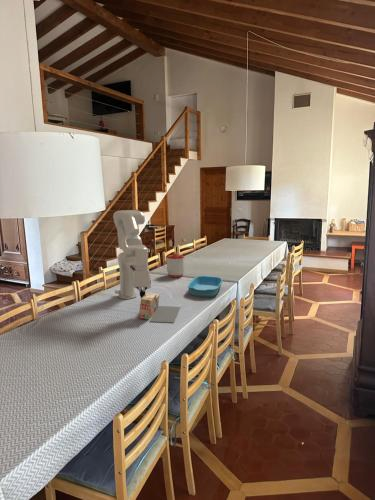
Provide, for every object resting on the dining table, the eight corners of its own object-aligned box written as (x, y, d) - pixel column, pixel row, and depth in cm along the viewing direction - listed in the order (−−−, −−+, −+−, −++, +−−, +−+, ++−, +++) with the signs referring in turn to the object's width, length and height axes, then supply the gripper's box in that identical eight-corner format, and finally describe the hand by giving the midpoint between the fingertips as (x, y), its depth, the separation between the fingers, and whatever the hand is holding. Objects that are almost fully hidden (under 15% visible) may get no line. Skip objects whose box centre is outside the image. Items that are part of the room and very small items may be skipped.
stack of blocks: (148, 305, 232) (150, 287, 229) (158, 307, 231) (160, 289, 228) (138, 318, 211) (140, 298, 208) (148, 320, 210) (151, 300, 207)
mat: (149, 321, 207) (149, 321, 207) (158, 306, 233) (158, 305, 233) (173, 323, 206) (173, 322, 206) (180, 307, 231) (180, 306, 231)
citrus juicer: (166, 273, 317) (166, 251, 313) (185, 274, 314) (185, 251, 311) (162, 278, 302) (162, 254, 298) (183, 278, 299) (183, 255, 295)
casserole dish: (216, 300, 246) (216, 290, 245) (184, 297, 252) (184, 287, 250) (224, 285, 281) (224, 276, 280) (196, 283, 287) (196, 274, 285)
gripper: (127, 268, 213) (128, 298, 216) (152, 269, 211) (153, 299, 214) (131, 266, 220) (132, 295, 223) (155, 266, 218) (155, 295, 221)
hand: (142, 297), depth 219 cm, fingers closed
